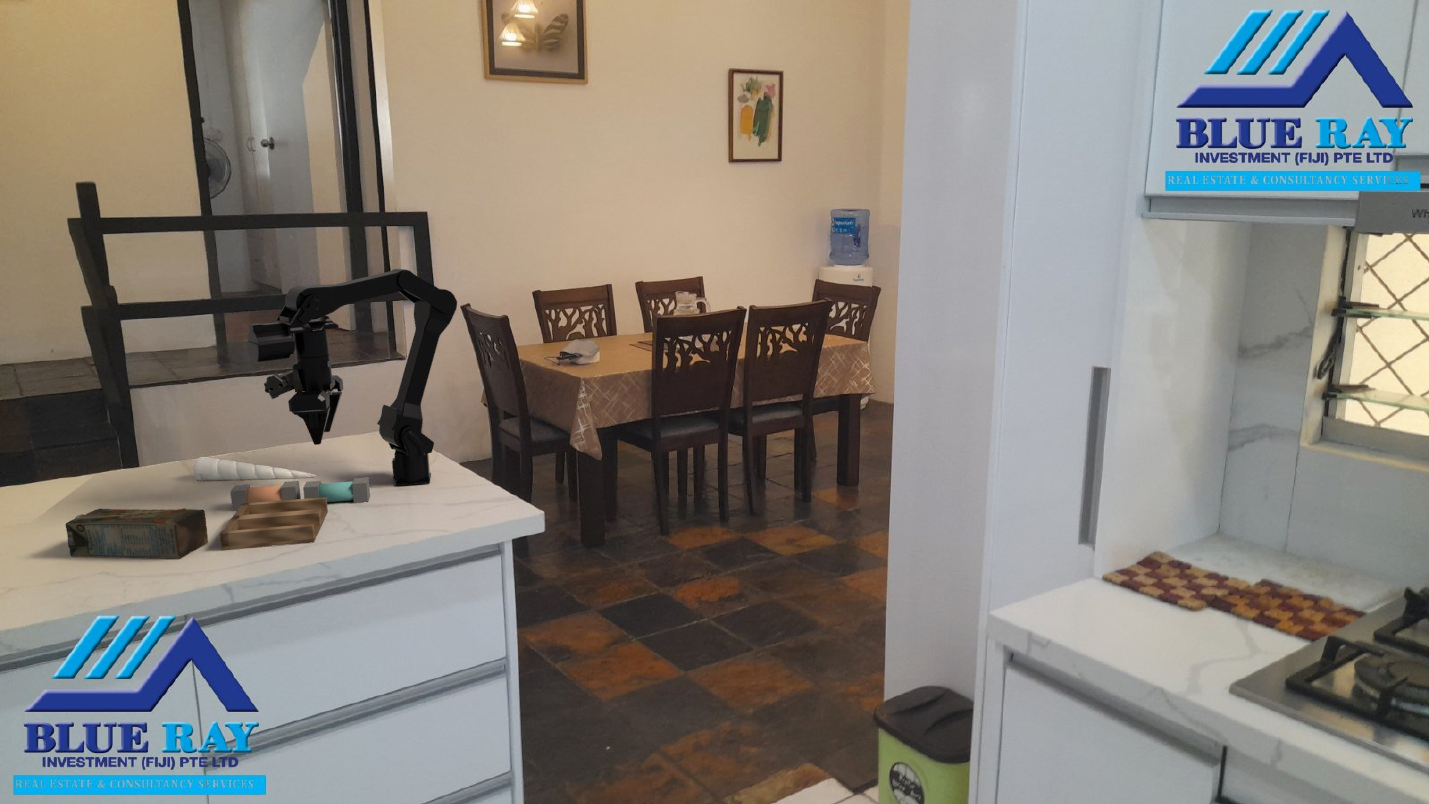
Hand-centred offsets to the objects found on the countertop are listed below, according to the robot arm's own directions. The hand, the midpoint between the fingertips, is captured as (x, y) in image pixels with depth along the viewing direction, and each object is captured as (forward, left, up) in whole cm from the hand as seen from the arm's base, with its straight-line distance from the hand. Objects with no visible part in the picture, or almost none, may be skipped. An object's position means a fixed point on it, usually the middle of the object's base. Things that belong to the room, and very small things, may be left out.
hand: (322, 438), depth 178 cm
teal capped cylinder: (-2, +2, -12) cm, 12 cm away
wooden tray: (+6, +16, -12) cm, 20 cm away
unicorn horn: (+17, -20, -13) cm, 29 cm away
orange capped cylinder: (+11, +1, -12) cm, 16 cm away
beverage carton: (+26, +20, -13) cm, 35 cm away
